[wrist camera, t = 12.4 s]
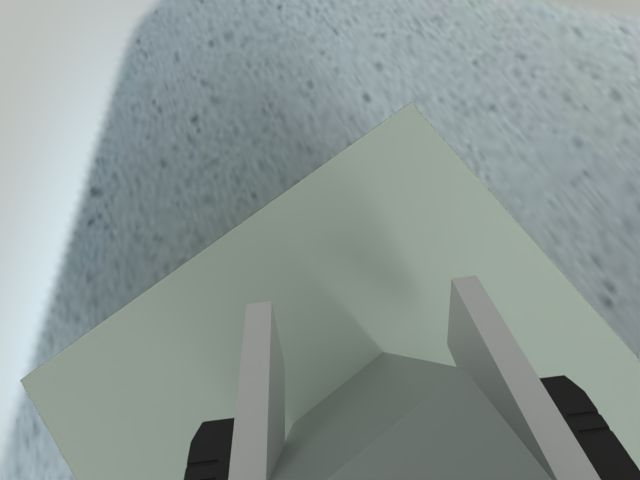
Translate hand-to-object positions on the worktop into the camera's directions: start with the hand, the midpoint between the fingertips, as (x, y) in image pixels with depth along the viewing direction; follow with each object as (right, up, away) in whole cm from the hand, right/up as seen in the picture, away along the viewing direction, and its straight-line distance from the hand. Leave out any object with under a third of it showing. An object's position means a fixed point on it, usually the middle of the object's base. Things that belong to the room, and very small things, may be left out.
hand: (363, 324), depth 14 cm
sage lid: (+1, -4, +3) cm, 5 cm away
